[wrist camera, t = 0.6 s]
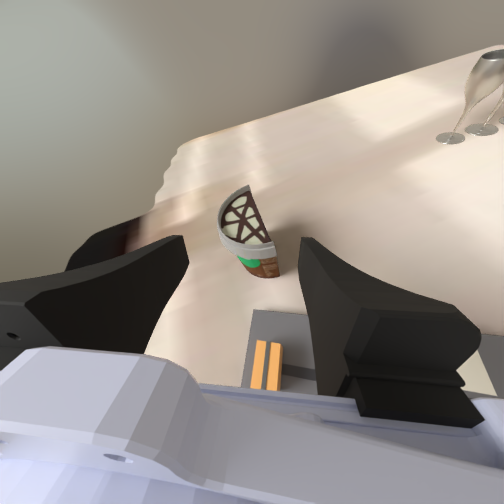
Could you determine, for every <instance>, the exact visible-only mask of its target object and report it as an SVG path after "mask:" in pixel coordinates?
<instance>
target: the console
mask: <svg viewBox="0 0 504 504" xmlns="http://www.w3.org/2000/svg"><path fill="white" fill-rule="evenodd" d="M481 335H482V339H481V343H480V346H479V348H478V349H477V350H476V352H475V353H474V354H473V355H472V356H471V357H470V358H469V359H468V360H467V361H466V362H464V363H463V364H462V365H461V366H460V367H459V368H458V369H457V370H456V371H457V372H458V373H459V375H460V376H461V377H462V378H463V380H464V381H465V384H466V385H465V386H464V387H461V389H462V390H463V391H464V393H465V394H466V395H467V397H468V398H469V399H470V400H471V399H475V398H498V399H504V336H497V335H488V334H481ZM257 340H260V341H269V342H273V343H280V344H281V345H282V347H283V356H282V371H281V385H280V391H282V392H292V393H302V394H312V395H318V393H317V383H316V373H315V364H314V355H313V347H312V339H311V331H310V324H309V318H308V315H302V314H292V313H283V312H274V311H264V310H255V309H254V310H253V316H252V322H251V328H250V334H249V340H248V346H247V353H246V359H245V365H244V371H243V377H242V383H241V387H242V388H250V386H251V379H252V372H253V365H254V357H255V350H256V343H257ZM252 389H253V388H252Z"/></svg>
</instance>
